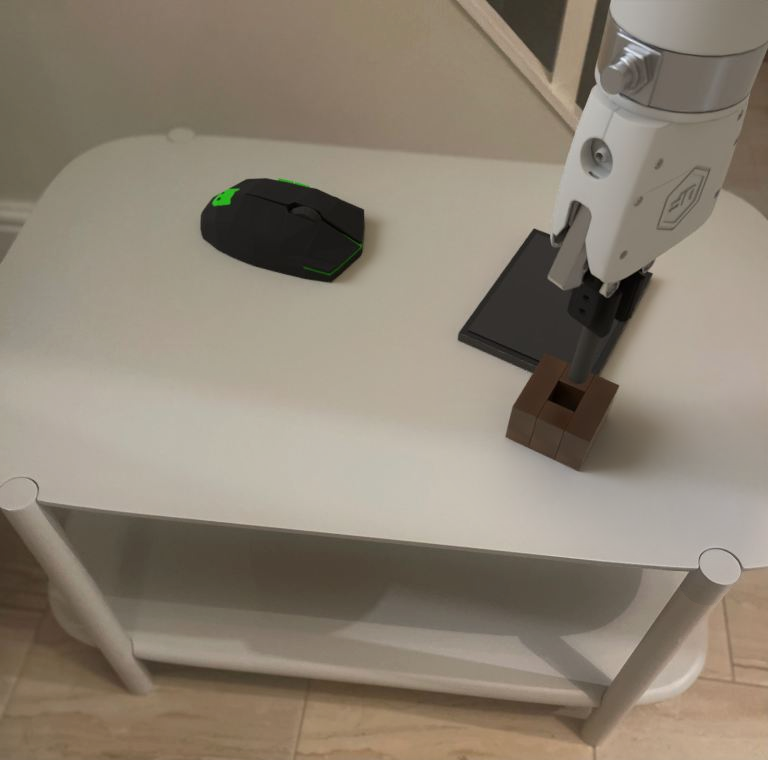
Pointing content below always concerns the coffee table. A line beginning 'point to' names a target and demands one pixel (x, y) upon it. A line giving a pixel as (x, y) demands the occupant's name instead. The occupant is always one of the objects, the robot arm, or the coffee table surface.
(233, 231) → the computer mouse
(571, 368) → the stylus
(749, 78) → the robot arm
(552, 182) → the coffee table surface
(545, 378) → the holder
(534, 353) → the tablet
